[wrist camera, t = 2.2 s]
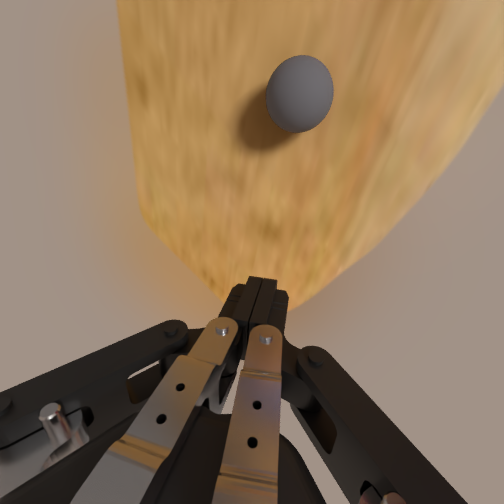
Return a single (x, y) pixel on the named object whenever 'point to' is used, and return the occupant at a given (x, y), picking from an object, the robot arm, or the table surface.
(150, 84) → the table surface
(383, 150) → the table surface
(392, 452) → the robot arm
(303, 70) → the gray ball
